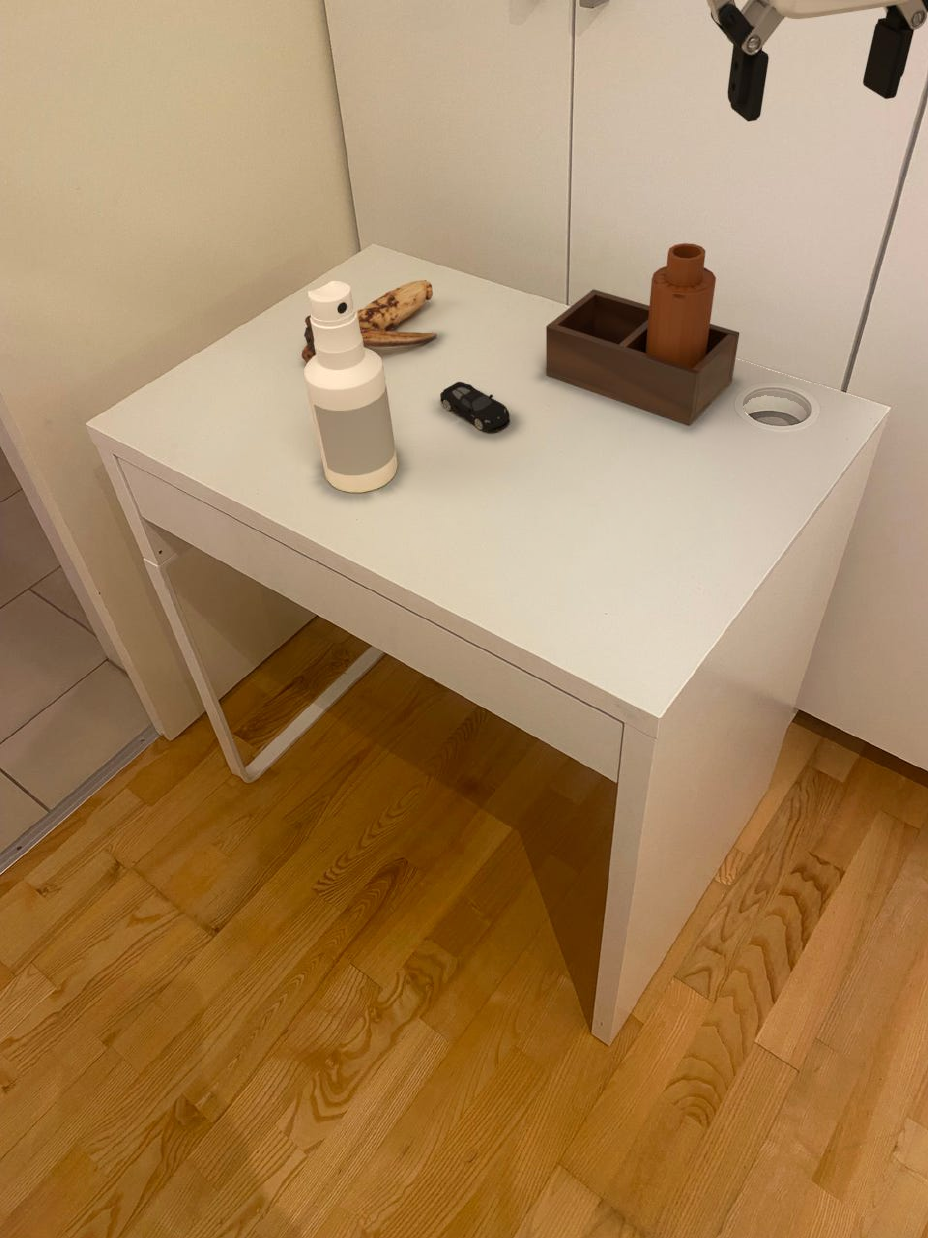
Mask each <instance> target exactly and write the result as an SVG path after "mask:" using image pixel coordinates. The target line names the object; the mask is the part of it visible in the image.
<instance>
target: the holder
mask: <svg viewBox="0 0 928 1238" xmlns="http://www.w3.org/2000/svg"><path fill="white" fill-rule="evenodd" d="M649 306H650V304H645V303H642V302H638V301H635V300H631V299H628V298H625V297H622V296H618V295H614V294H611V293H607V292H604V291H601V290H598V289H591V290H590V291H589V292H587V293H586V294H585V295H584V296H583V297H581V298H580V299H579V300H577V301H576V302H575V303H573V305H571V306H570V307H569V308H567V309H566V310H565V311H563V312H562V313H561V314H560V315H558V316H557V317H556V318H555V319H553V320H552V321H551V322H550V323H548V324H547V325H546V326H545V329H546V330H545V332H546V334H545V335H546V338H545V339H546V340H545V343H546V344H545V345H546V348H545V351H546V352H545V353H546V357H545V359H546V362H545V363H546V364H545V365H546V366H545V367H546V368H545V369H546V370H545V373H546V374H545V375H546V376H547V377H550V378H553V379H556V380H558V381H561V382H564V383H566V384H570V385H573V386H575V387H578V388H581V389H584V390H586V391H589V392H592V393H595V394H598V395H600V396H604V397H607V398H609V399H611V400H615V401H618V402H620V403H624V404H626V405H630V406H632V407H635V408H638V409H641V410H643V411H646V412H648V413H652V414H655V415H657V416H661V417H664V418H665V419H669V420H672V421H675V422H677V423H680V424H683V425H686V426H690V427H691V425H692V424H693V423H694V422H695V421H696V420H697V419H698V418H699V417H700V416H701V415H702V414H703V413H704V412H705V411H706V410H707V409H708V408H709V407H710V406H711V405H712V404H713V403H714V402H715V401H716V399H717V398H719V396H721V395H722V394H723V392H725V390H726V389H727V388H728V387H729V386H730V385H731V384H732V382H733V376H734V371H735V365H736V357H737V351H738V347H739V346H738V345H739V339H740V332H739V331H736V330H733V329H729V328H726V327H723V326H719V325H716V324H713V323H710V327H709V335H708V342H707V350H706V356H705V357H704V358H703V359H702V360H701V361H700V362H699V363H698V364H697V365H696V366H695V367H694V368H689V367H686V366H683V365H680V364H677V363H674V362H671V361H668V360H665V359H661V358H658V357H655V356H652V355H649V354H646V342H647V330H648V318H649Z"/></svg>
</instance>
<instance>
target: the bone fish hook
mask: <svg viewBox="0 0 928 1238" xmlns="http://www.w3.org/2000/svg"><path fill="white" fill-rule="evenodd" d="M433 295H434V293H433V284H432V283H431V282H430V281H427V279H424V280H415V281H414V280H413V281H411V282H407V283H406V284H403V285H401V286H399V287H397V288H394V289H393V290H390V291H388V292H385V294H383V295H381V296H380V297H378V298H376V299H375V300H373V301H372V302H369V304H368V305H366V306H365V307H364V308H361V309H359V310H356V311H357V314H358V320H359V326H360V333H361V335H362V339H363V345H364V347H365V348H367V347H368V348H369V347H372V348H395V347H396V348H397V347H410V346H418V345H424V344H426V343H429V342H431V341H433V340H435V339H436V338H437V336H438V335H437V333H434V332H416V331H415V332H414V331H392V330H393V329H395V328H396V327H397V326H398V325H399V324H400V323H401V322H403V321H404V320H406V319H407V318H408V317H410V316H411V315H412V314H413V313H414V312H415V311H417V310H419V308H421V307H423V305H425V304H426V301H429V300H431V299H432V298H433ZM310 318H311V315H307V316H306V317H305V318H304V322H305V325H306V327H305V329H304V330H305V331H304V334H303V336H304V338H305V341H306V345H305V346H304V347H303V349H302V350H301V358H302V359H303V360H304V362H305V363H306V364H307V363H308V362H309V361H310V360H311V359H312V357H313V356H315V355H316V351H315V346H314V336H313V331H312V326H311V321H310Z"/></svg>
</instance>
